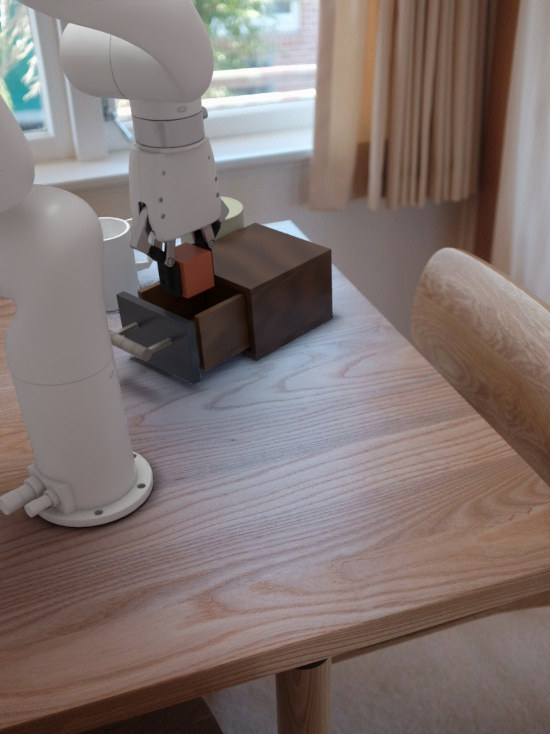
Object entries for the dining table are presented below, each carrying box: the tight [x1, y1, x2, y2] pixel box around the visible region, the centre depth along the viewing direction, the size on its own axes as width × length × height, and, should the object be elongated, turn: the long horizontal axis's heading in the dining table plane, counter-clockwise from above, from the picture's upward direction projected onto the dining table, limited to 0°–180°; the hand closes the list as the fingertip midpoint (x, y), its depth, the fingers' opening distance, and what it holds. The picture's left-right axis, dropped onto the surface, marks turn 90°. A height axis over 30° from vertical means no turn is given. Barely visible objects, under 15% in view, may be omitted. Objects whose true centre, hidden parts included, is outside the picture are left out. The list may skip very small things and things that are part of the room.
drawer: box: [109, 280, 251, 386], centre depth 112 cm, size 18×13×8 cm
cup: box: [97, 216, 154, 312], centre depth 126 cm, size 8×12×10 cm
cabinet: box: [212, 222, 334, 362], centre depth 119 cm, size 15×14×10 cm
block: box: [174, 242, 215, 298], centre depth 108 cm, size 4×4×4 cm
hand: (188, 284), depth 109 cm, fingers closed on block, 4 cm apart
